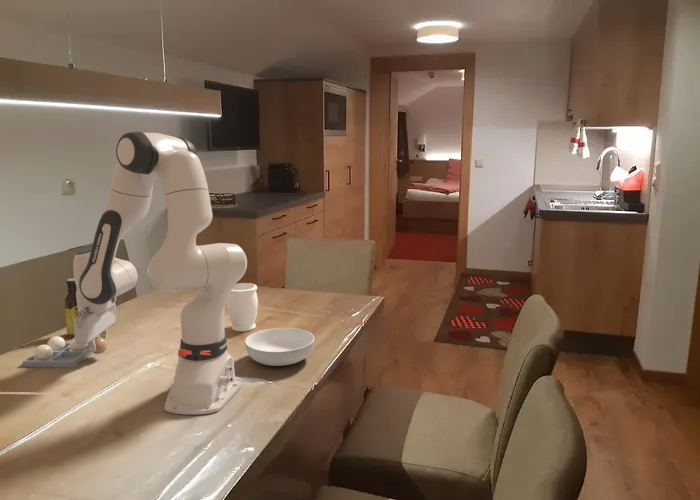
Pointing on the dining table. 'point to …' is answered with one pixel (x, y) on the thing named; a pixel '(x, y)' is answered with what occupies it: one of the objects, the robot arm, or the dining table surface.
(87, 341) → the robot arm
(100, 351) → the brown egg
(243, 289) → the jar
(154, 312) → the dining table surface
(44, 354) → the white egg
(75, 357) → the egg tray
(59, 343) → the white egg
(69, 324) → the sauce bottle
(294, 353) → the serving bowl
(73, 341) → the white egg
